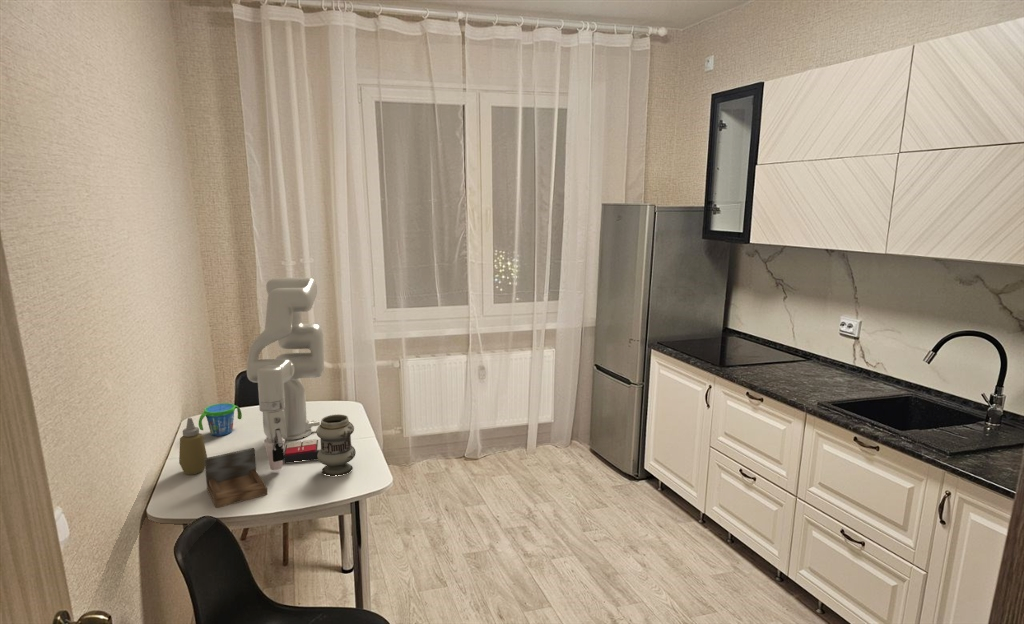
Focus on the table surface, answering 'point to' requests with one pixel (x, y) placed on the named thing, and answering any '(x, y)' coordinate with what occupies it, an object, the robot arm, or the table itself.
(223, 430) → the snack cup
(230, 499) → the display stand
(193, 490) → the table surface
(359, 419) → the table surface
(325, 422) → the apothecary jar
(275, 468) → the smoothie
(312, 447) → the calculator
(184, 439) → the squeeze bottle
